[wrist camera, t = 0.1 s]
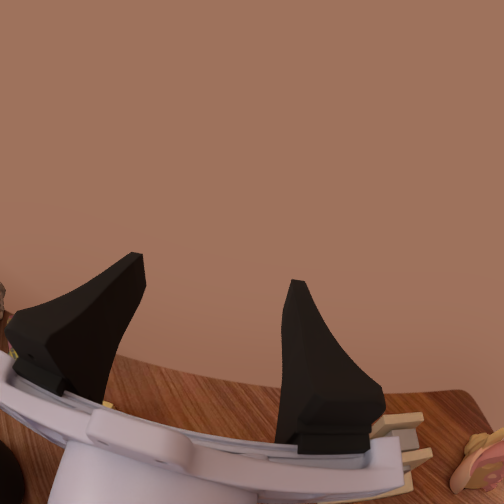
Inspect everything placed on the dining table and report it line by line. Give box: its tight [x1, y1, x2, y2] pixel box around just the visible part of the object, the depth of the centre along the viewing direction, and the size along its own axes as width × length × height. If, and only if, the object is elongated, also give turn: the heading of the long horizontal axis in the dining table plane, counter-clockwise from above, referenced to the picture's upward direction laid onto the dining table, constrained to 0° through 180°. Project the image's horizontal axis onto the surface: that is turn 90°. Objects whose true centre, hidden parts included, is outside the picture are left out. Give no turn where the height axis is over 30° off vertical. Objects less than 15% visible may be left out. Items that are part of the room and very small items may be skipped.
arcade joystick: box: [384, 429, 419, 453], centre depth 19 cm, size 12×3×3 cm, turn 85°
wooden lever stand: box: [317, 412, 433, 504], centre depth 20 cm, size 11×8×9 cm
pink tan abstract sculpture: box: [450, 427, 504, 494], centre depth 18 cm, size 9×10×10 cm
